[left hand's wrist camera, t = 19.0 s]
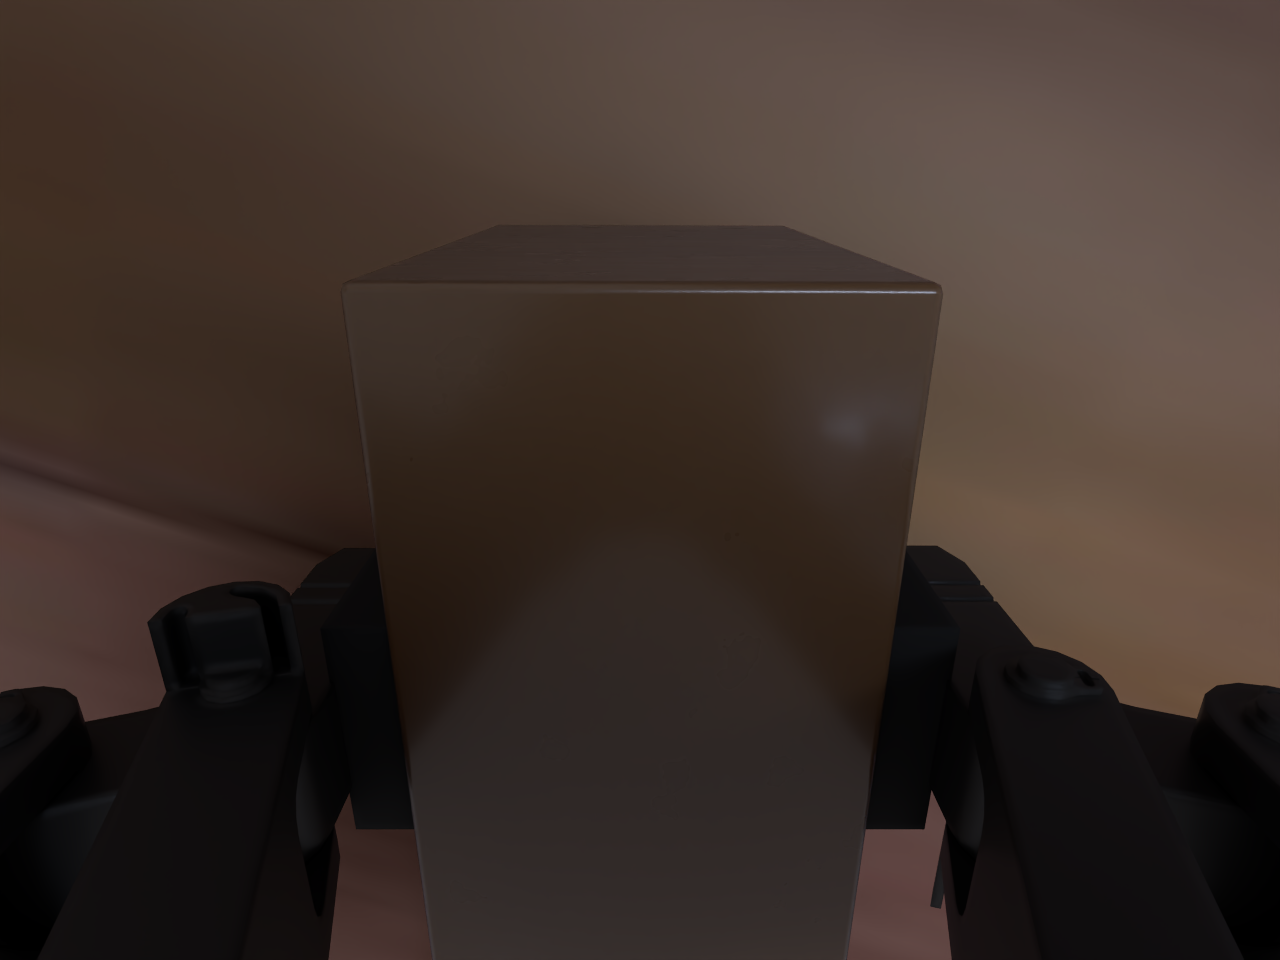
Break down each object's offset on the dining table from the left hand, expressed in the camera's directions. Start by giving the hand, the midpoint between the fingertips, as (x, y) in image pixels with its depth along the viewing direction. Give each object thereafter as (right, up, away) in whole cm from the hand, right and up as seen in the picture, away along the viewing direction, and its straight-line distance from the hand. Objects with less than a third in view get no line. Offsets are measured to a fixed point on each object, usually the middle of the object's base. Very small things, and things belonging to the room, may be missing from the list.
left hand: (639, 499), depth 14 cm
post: (0, -33, +14) cm, 35 cm away
